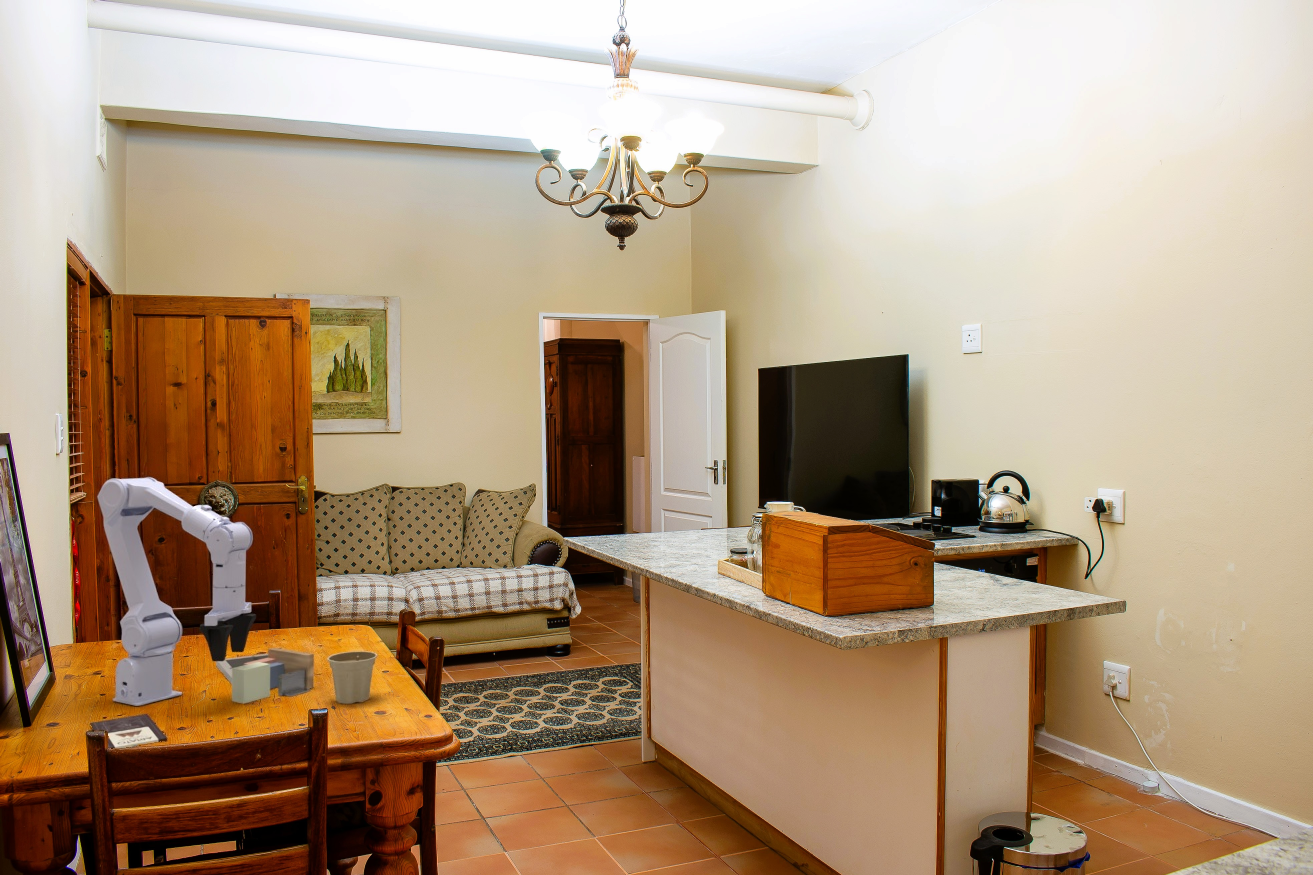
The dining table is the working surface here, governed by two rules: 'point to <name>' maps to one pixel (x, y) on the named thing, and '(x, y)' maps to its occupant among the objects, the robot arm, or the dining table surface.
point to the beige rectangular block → (250, 682)
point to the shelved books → (272, 670)
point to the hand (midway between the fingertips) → (228, 656)
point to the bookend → (292, 683)
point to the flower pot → (352, 675)
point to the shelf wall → (295, 662)
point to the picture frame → (236, 664)
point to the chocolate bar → (130, 731)
